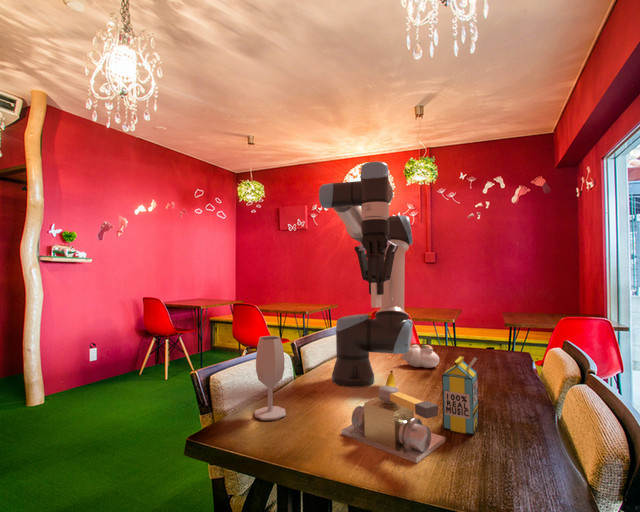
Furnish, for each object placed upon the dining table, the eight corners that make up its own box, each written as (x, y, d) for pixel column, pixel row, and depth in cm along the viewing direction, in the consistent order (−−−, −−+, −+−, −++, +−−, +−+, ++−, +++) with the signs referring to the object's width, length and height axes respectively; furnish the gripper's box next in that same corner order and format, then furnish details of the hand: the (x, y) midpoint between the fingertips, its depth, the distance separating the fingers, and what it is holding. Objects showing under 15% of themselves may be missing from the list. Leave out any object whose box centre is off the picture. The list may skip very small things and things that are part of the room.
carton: (477, 437, 86) (475, 359, 87) (443, 430, 90) (441, 355, 91) (482, 426, 92) (480, 353, 93) (450, 419, 97) (448, 350, 97)
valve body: (341, 434, 89) (340, 393, 89) (372, 418, 98) (372, 381, 98) (416, 463, 75) (415, 414, 75) (445, 441, 84) (444, 398, 85)
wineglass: (259, 424, 95) (259, 341, 96) (250, 412, 103) (249, 336, 104) (291, 417, 99) (290, 338, 100) (279, 407, 107) (279, 334, 108)
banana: (378, 410, 104) (378, 387, 104) (387, 389, 122) (387, 370, 122) (389, 411, 103) (388, 388, 103) (396, 390, 121) (396, 370, 121)
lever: (375, 397, 85) (375, 388, 85) (389, 393, 87) (389, 385, 87) (424, 419, 72) (424, 409, 72) (440, 414, 74) (439, 404, 74)
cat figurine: (440, 344, 150) (403, 338, 154) (440, 358, 143) (401, 351, 147) (438, 361, 154) (402, 355, 159) (437, 375, 148) (399, 368, 152)
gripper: (347, 221, 102) (348, 306, 101) (387, 215, 93) (389, 309, 92) (364, 223, 108) (365, 304, 106) (403, 218, 99) (405, 307, 97)
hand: (376, 307), depth 99 cm, fingers closed
